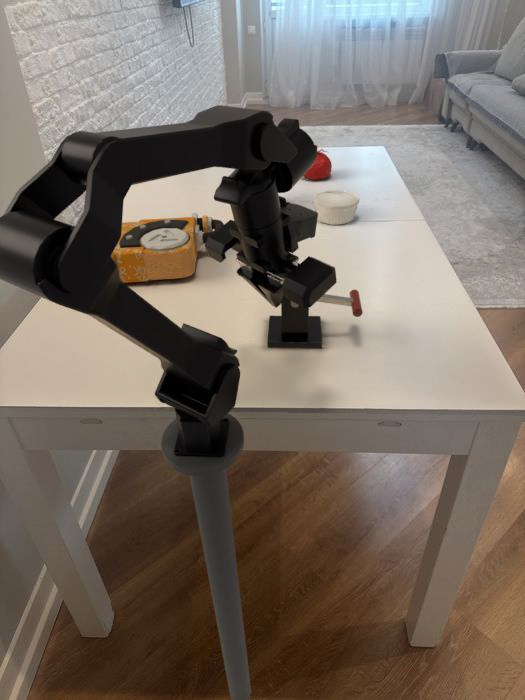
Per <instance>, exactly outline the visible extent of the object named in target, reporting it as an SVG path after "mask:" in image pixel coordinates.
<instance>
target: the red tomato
mask: <svg viewBox="0 0 525 700" xmlns="http://www.w3.org/2000/svg"><path fill="white" fill-rule="evenodd" d="M314 145H315V146H316V147H317V148H318V144H314ZM325 153H328V151H327V150H325V149H322V148H321V149H319V150H317V158H316V161H315V163H314V164H313V165H312V166H311V168H310V169H309V170H308V171H307V172H306V173H305V174H304V175H303V176H302V177H304V178H305V179H308V180H312V181H319V180H324V179H326V178H328V177H329V176H330V175H331V173H332V167H333V166H332V165H333V164H332V160H331V159H330V158H329V156H328V155H327V154H325Z"/></svg>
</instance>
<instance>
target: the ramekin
mask: <svg viewBox="0 0 525 700" xmlns="http://www.w3.org/2000/svg"><path fill="white" fill-rule="evenodd" d="M359 203H360V197H359V196H358V195H357V194H355V193H354V192H350V191H344V190H325V191H320V192H318V193H317V194H315V195H314V196H313V204H314V211H316V212H317V213H318V219H317V221H319V222H321V223H323V224H327V225H332V226H333V225H335V226H338V225H346V224H349V223H350V222H352V221H353V219H354V218H355V216H356V213H357V209H358V205H359Z"/></svg>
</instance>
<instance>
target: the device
mask: <svg viewBox="0 0 525 700" xmlns="http://www.w3.org/2000/svg"><path fill="white" fill-rule="evenodd" d="M224 224H225V223H224V222H223V221H222V220H219V219H213V217H212V216H208V215H206V214H205V215H202V217H198V212H192V213H191V216H185V217H184V216H183V217H167V218H165V217H164V218H148V219H140V220H138V221H128V222H122V231H121V237H120V240H119V242H118V244H117V245H116V247H115V249H114V251H113V253H112V255H111V257H112V258H113V259H114V261H115V262H116V264H117V268H118V272H119V276H120V279H121V281H122V282H123V283H124V284H125V283H139V282H142V283H143V282H148V281H159V280H176V279H184V278H187V277H190V276H192V275H193V274H194V273H195V271H196V263H197V260H198V253H199V252H200V251H201V246H204V244H206V241H207V239H208V237H209V236H210V235H211V234H213V233H214V232H215V231H217V230H218V229H219V228H221V227H222V226H223V225H224Z"/></svg>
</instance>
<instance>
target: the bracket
mask: <svg viewBox="0 0 525 700" xmlns="http://www.w3.org/2000/svg"><path fill="white" fill-rule="evenodd" d="M280 306H281V307H280V312H281V313H280V315H269V318H268V329H267V341H266V344H267V345H266V346H267V349H323V334H322V321H321V318H322V317H321V315H310V307H309V308H303V307H301V306H299V305H297V304H295V303H294V302H292V301H290V300H288V299H287V297H286V296H285V295H283V299H282V302H281V304H280Z"/></svg>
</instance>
